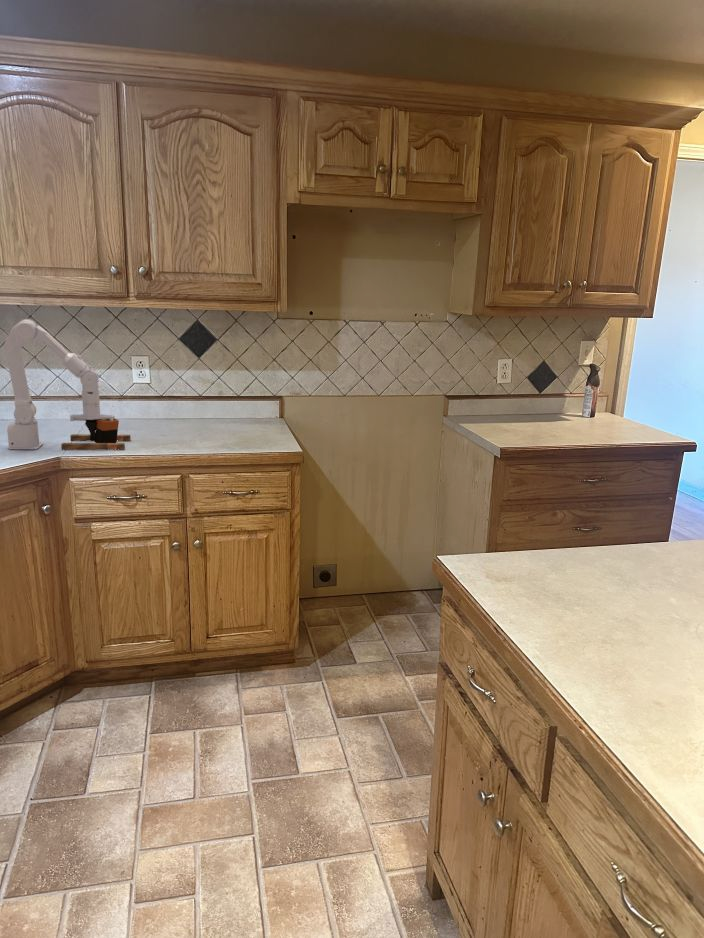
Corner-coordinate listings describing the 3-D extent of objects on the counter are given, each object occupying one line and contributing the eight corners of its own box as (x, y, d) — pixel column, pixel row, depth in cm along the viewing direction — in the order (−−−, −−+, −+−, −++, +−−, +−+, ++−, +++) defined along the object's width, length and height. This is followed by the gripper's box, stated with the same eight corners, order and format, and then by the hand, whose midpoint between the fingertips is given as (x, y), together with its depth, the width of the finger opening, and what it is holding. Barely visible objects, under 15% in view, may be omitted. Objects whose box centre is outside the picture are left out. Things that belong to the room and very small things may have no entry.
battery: (116, 443, 249) (119, 417, 247) (101, 445, 244) (104, 419, 241) (108, 440, 251) (111, 414, 249) (93, 442, 245) (96, 415, 243)
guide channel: (61, 449, 238) (61, 444, 237) (71, 439, 252) (71, 434, 252) (123, 450, 241) (123, 444, 241) (130, 439, 255) (130, 434, 255)
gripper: (66, 405, 237) (69, 442, 241) (110, 405, 240) (112, 443, 243) (71, 401, 244) (74, 438, 248) (113, 402, 246) (115, 438, 250)
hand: (93, 440), depth 246 cm, fingers closed, pressing on battery
